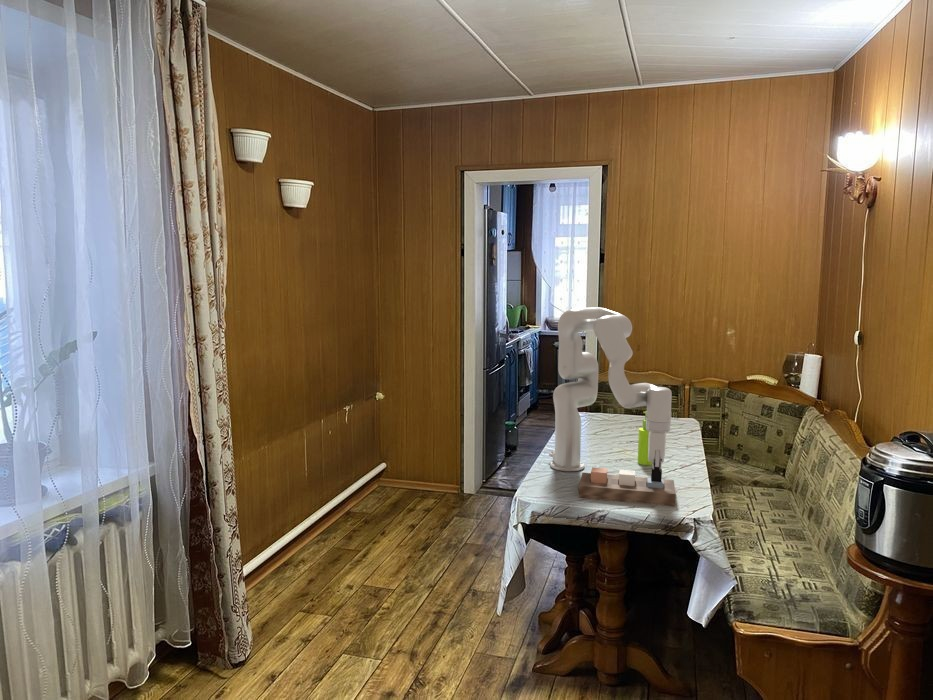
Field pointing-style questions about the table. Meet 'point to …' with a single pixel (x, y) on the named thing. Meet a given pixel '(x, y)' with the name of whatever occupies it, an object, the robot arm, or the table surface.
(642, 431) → the soap dispenser
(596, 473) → the terracotta key
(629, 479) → the ivory key
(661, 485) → the slate key
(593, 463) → the table surface
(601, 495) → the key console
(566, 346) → the robot arm
